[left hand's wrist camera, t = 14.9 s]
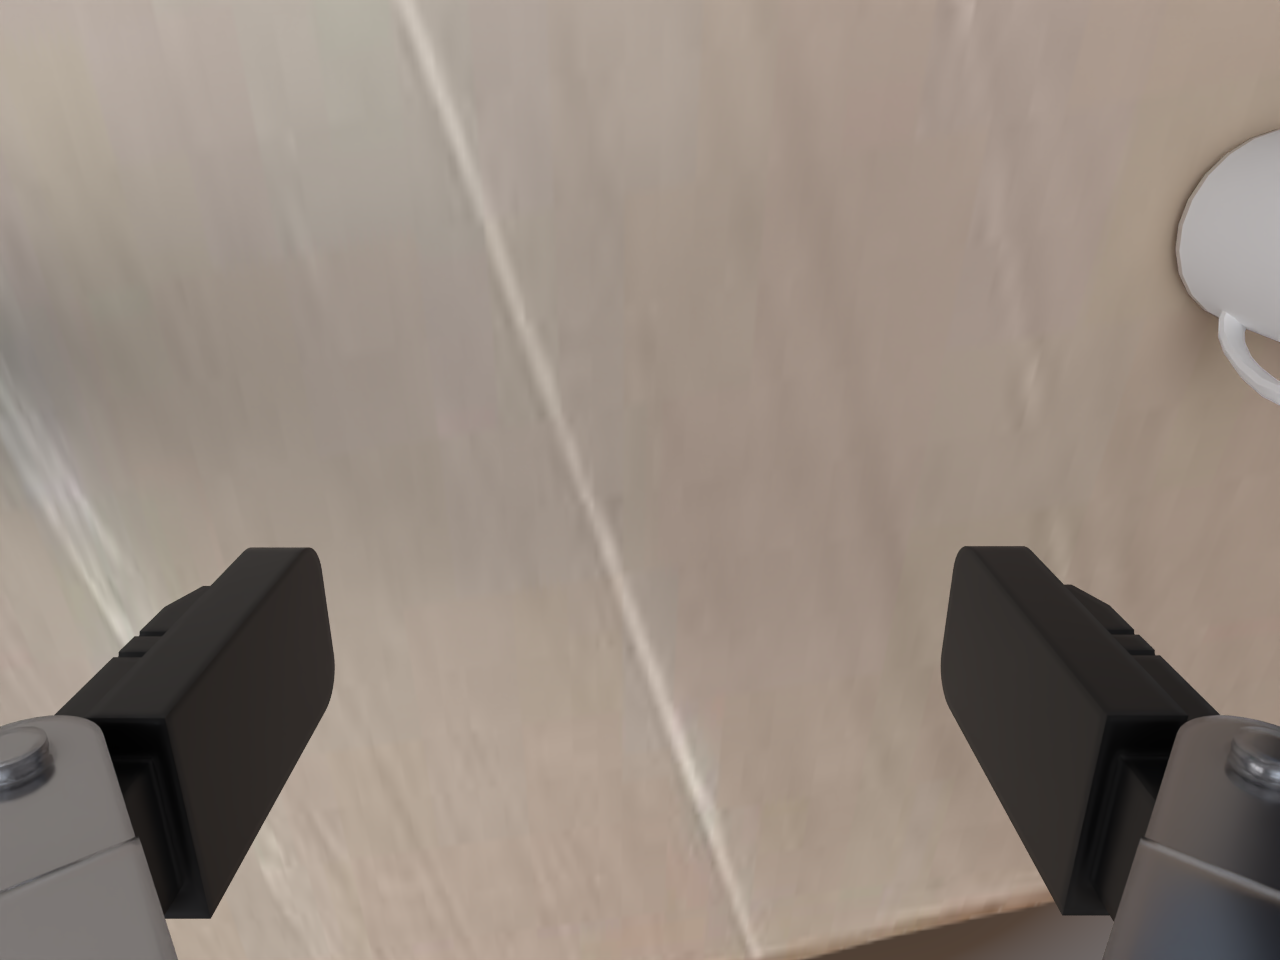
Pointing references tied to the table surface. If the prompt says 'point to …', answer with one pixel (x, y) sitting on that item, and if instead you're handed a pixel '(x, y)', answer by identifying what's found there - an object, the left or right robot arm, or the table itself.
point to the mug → (1237, 251)
